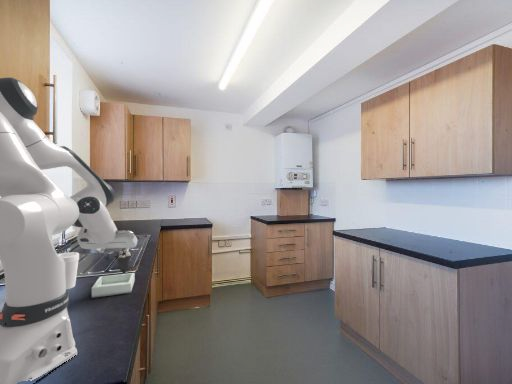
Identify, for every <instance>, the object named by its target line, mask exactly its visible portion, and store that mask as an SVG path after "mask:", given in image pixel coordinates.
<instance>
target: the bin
mask: <svg viewBox="0 0 512 384" xmlns="http://www.w3.org/2000/svg"><path fill="white" fill-rule="evenodd" d="M135 276H136V274H135V272H131V273H128V272H127V273H125V274H121V273H120V274H112V275H111V274H110V275H102V276H99V277H98V279H96V282H95V283H94V284H93V286H92V287H91V298H92V299H93V298H99V297H101V298H102V297H106V296H115V295H123V294H131V293H132V290H133V287H134V284H135V282H136V278H135Z"/></svg>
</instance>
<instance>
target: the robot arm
mask: <svg viewBox="0 0 512 384" xmlns="http://www.w3.org/2000/svg"><path fill="white" fill-rule="evenodd" d="M38 110H39V105H38V103H37V99H36V97H35V95H34V93H33V91H32V90H31V89H29V88H28V86H26V85H25V84H24V83H22V81H21V80H18V79H16V78H14V77H1V78H0V263H1V266H2V269H3V273H4V284H5V286H4V287H5V300H6V301H5V303H3V307H2V310H1V311H0V384H17V383H18V382H21V381H28V380H30V381H32V380H34V379H36V378H38V377H40V376H42V375H43V374H45V373H47V372H48V371H50V370H52V369H53V368H55V367H57V366H59V365H61V364H62V363H64V362H66V361H67V362H69V361H70V360H72V359H73V358H75V357H76V356H77V355H78V349H77V347H76V340H75V338H74V336H73V329H72V324H71V320H70V316H69V312H68V307H69V301H70V300H69V299H70V296H69V292H68V289H67V290H66V279H65V261H64V259H63V258H62V257H60V256H58V254H59V253H57V250H56V247H55V246H54V242H53V236H54V235H57V234H58V235H59V234H61V233H63V232H65V231H67V230H68V229H70V227H76V228H80V229H79V231H78V234H77V236H76V241H77V243H78V245H79V246H80V248H81V249H84V250H95V251H97V252H98V253H99V254H103V253H105V250H106V249H123V248H124V249H123V251H124V252H128V251H129V250H130V249H131V248H136V247H137V245H138V238H137V236H136V234H135V233H134V232H133V231H131V230H118V228H117V226H116V224H115V222H114V220H113V219H112V217H111V215H110V212H109V209H108V208H107V206H109V205H110V204H112V203H113V202H114V201H115V196H116V195H115V194H116V192H115V190H114V189H113V188H112V186H111V185H110V184H108V183H107V182H106V181H105V180H104V179H103V178H101V177H100V176H99V175H98V173H96V172H95V171H94V170H93V169H92V168H91V167H90V166H89V165H88V164H87V163H86V162H85V161H84V160H83V159H82V158H81V157H80V156H79V155H78V154H76V152H74V150H71V149H70V148H69V147H67V146H64V145H62V146H60V145H58V144H55V143H54V141H53V142H52V140H50V139H49V137H48V136H47V135H46V134H45V132H44V131H43V130H42V129H41V128H40V126H39V125H38V124H37V123H36V122H35V121H34V119H35V115H36V114H37V113H38ZM62 167H67V168H70V169H71V170H73V171H74V172H75V173H76V174H77V175H78V176H79V177H80V178H81V179H82V180H84V181H85V182H86V183H87V185H86V187H83V188H82V189H81V190H79V191H78V192H76V193H75V194H73V195H71V196H68V195H66V194H65V193H64V192H63V191H62V190H61V189H60V188H59V187H58V186H57V185H56V184H55V183H54V182H53V181H52V180H51V179H50V178H49V177H48V176H47V174H46V173H44V171H43V170H49V169H56V168H62ZM129 252H130V251H129ZM75 355H76V356H75ZM74 356H75V357H74ZM72 357H73V358H72ZM71 358H72V359H71ZM69 359H70V360H69ZM68 360H69V361H68ZM67 362H66V363H67ZM30 378H32V379H30Z"/></svg>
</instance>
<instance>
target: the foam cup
mask: <svg viewBox="0 0 512 384" xmlns="http://www.w3.org/2000/svg"><path fill="white" fill-rule="evenodd" d="M57 254H58V256H60V257H62V258H63V259H64V261H65V279H66V290H67V291H68V290H71V289H73V288H75V286H76V282H77V276H78V275H77V274H78V269H79V267H78V265H79V261H80V253H79V252H76V251H75V252H74V251H72V252H71V251H70V252H61V253H57Z"/></svg>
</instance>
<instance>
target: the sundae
mask: <svg viewBox="0 0 512 384" xmlns="http://www.w3.org/2000/svg"><path fill="white" fill-rule="evenodd" d="M123 249H124V248H121V249H120V250H119V252H118V253H117V251H116V252H115V256H114V259H115V260H116V261H117V268H118V270H120V271H121V273H122V274H126V271H127V270H128V269H129V267H130V262H131V261H130V260H131V257H132V256H133V255H132V254H131V252H130V251H128V252H124V251H123Z"/></svg>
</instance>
